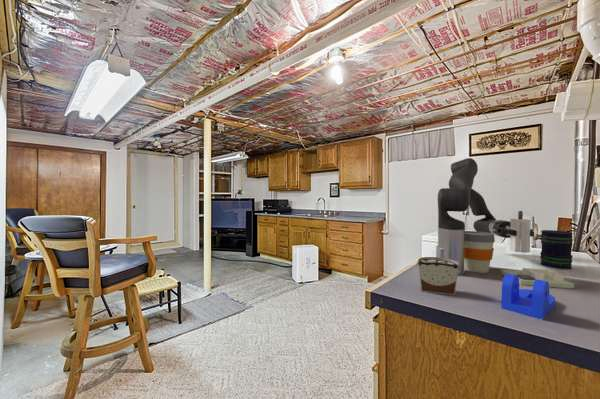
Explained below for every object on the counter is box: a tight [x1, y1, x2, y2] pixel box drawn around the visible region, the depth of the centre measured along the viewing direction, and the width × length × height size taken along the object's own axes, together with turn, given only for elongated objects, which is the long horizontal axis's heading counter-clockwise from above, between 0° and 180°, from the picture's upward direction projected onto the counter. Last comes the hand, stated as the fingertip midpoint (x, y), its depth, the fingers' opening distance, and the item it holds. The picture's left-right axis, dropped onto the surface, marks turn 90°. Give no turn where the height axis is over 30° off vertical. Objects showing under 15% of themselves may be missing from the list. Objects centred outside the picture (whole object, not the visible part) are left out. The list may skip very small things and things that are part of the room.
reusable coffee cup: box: [464, 230, 496, 274], centre depth 108 cm, size 13×13×15 cm
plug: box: [509, 210, 532, 254], centre depth 106 cm, size 5×5×16 cm
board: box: [500, 267, 575, 290], centre depth 94 cm, size 15×13×4 cm
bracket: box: [501, 273, 556, 320], centre depth 73 cm, size 18×8×9 cm, turn 127°
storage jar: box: [539, 229, 574, 270], centre depth 113 cm, size 10×10×15 cm
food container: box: [416, 256, 461, 296], centre depth 85 cm, size 12×6×10 cm, turn 71°
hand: (523, 233), depth 104 cm, fingers closed on plug, 5 cm apart
